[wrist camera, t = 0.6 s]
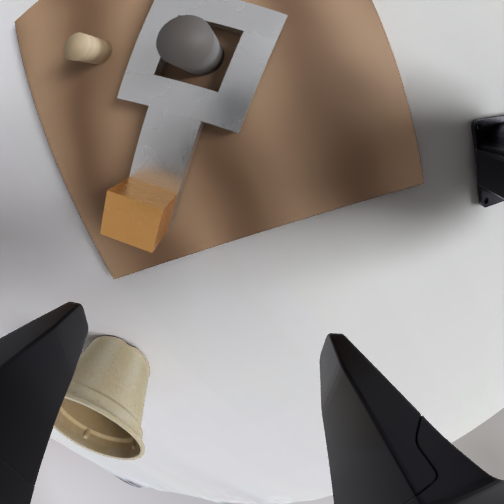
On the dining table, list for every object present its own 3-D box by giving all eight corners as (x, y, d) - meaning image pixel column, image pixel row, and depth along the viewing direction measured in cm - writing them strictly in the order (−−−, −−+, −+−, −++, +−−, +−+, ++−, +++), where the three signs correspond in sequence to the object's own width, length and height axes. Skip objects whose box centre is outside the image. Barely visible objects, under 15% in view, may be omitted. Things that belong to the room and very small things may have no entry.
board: (306, -101, 8) (317, -141, 4) (418, 180, 17) (461, 205, 13) (21, 22, 12) (-25, 16, 7) (118, 273, 21) (88, 316, 16)
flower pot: (60, 339, 25) (21, 402, 17) (113, 303, 22) (67, 383, 15) (124, 396, 28) (102, 461, 21) (186, 375, 26) (169, 456, 18)
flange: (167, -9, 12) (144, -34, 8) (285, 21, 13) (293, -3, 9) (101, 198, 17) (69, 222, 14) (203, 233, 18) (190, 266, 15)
